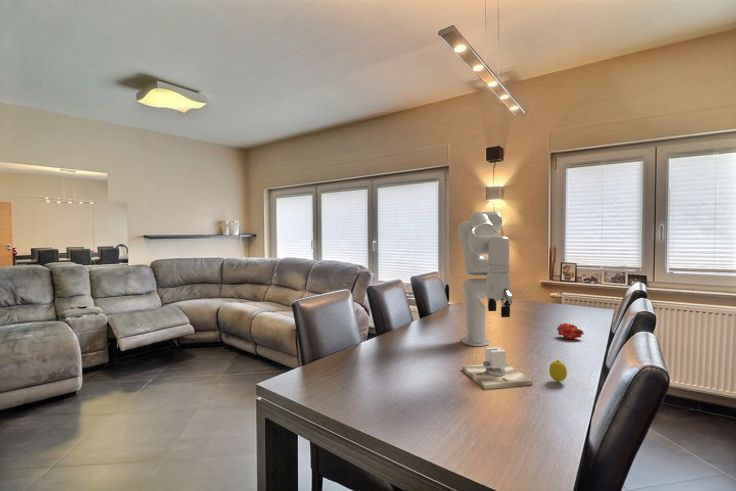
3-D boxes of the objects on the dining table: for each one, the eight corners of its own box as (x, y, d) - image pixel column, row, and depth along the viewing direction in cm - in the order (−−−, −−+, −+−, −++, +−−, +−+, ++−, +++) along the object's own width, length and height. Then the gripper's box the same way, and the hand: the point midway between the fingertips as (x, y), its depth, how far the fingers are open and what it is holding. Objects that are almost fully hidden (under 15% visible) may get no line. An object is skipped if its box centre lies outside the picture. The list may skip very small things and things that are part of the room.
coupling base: (462, 369, 138) (462, 359, 138) (504, 366, 141) (504, 356, 141) (484, 389, 120) (484, 377, 120) (532, 384, 123) (532, 373, 123)
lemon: (560, 387, 121) (560, 364, 121) (545, 381, 126) (545, 359, 126) (570, 383, 124) (570, 361, 123) (555, 378, 128) (555, 356, 128)
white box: (497, 362, 133) (497, 346, 133) (505, 367, 128) (505, 350, 128) (480, 364, 132) (480, 347, 132) (488, 369, 127) (487, 352, 127)
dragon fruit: (555, 339, 181) (581, 346, 174) (554, 332, 175) (581, 340, 168) (559, 324, 184) (585, 331, 177) (558, 317, 178) (585, 324, 171)
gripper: (478, 267, 140) (478, 309, 141) (501, 272, 123) (501, 320, 124) (496, 266, 141) (496, 308, 142) (521, 271, 124) (521, 319, 125)
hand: (498, 313), depth 133 cm, fingers open, 9 cm apart
